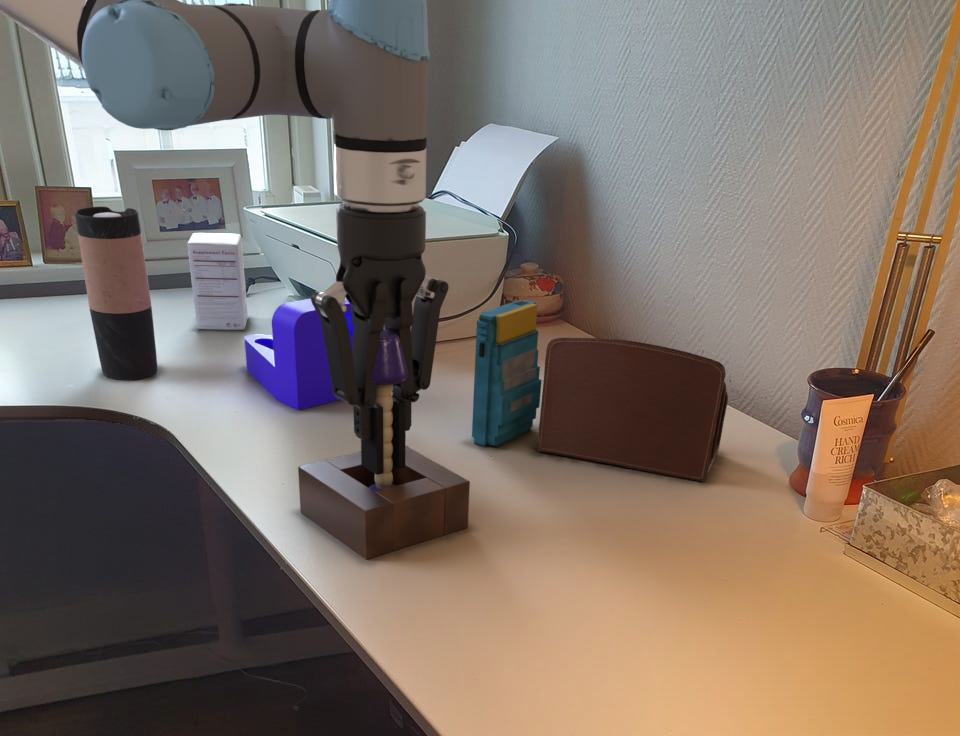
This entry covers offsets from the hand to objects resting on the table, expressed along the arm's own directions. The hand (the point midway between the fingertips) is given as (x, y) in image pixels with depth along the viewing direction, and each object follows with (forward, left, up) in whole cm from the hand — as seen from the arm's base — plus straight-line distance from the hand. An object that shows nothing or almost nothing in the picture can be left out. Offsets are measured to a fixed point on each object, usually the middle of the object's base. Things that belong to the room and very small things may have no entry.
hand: (383, 466), depth 95 cm
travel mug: (-3, +56, -6) cm, 56 cm away
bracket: (+13, +41, -6) cm, 43 cm away
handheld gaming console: (+25, +11, -6) cm, 28 cm away
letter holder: (+34, -1, -6) cm, 35 cm away
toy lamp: (0, 0, -4) cm, 4 cm away
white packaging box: (+18, +71, -6) cm, 73 cm away
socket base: (0, 0, -6) cm, 6 cm away
